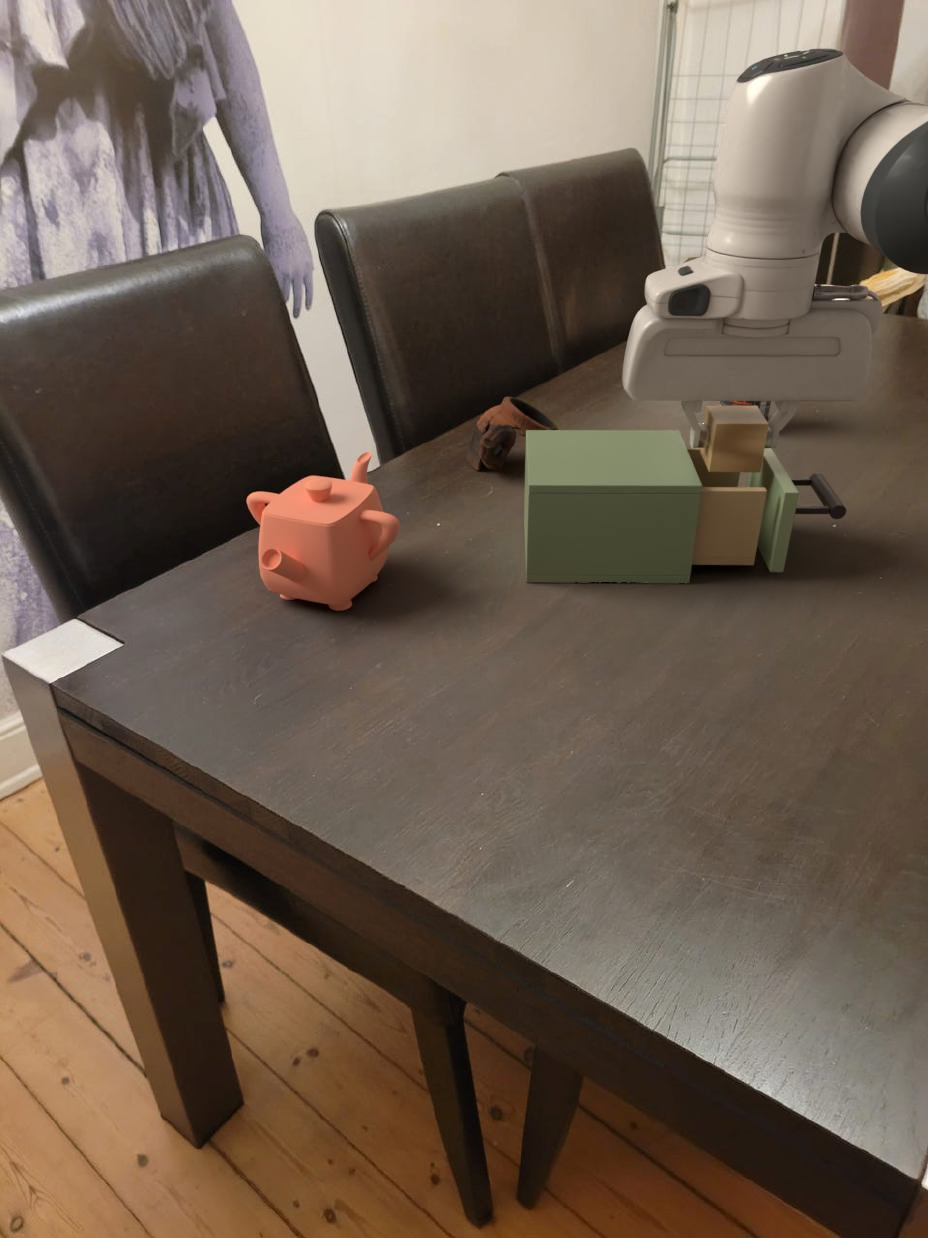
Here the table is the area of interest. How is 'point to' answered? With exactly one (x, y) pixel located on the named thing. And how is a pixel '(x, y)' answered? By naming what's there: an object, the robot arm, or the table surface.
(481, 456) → the pottery mug
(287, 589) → the teapot
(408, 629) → the table surface
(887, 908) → the table surface
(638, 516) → the cabinet
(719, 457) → the block
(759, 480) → the drawer
